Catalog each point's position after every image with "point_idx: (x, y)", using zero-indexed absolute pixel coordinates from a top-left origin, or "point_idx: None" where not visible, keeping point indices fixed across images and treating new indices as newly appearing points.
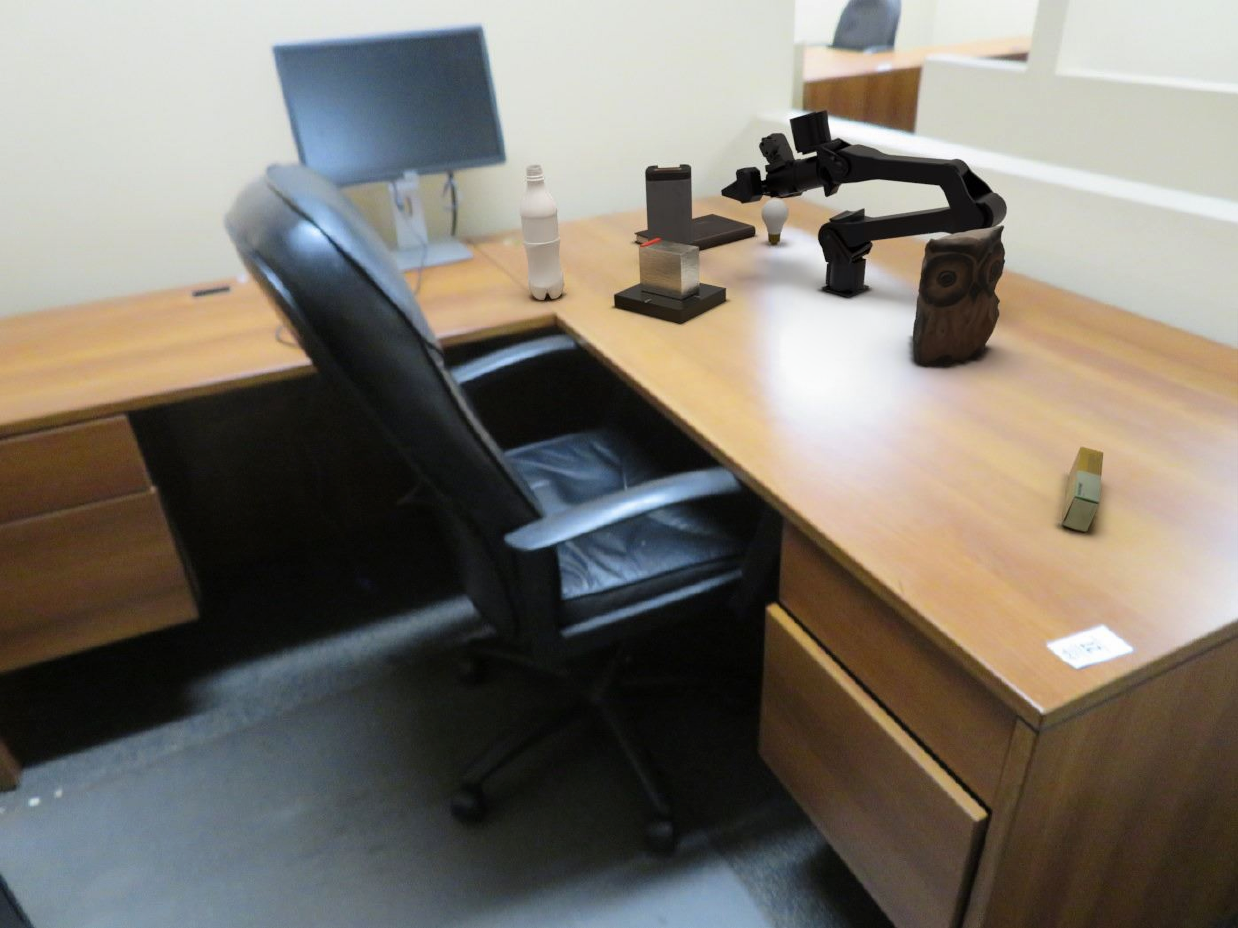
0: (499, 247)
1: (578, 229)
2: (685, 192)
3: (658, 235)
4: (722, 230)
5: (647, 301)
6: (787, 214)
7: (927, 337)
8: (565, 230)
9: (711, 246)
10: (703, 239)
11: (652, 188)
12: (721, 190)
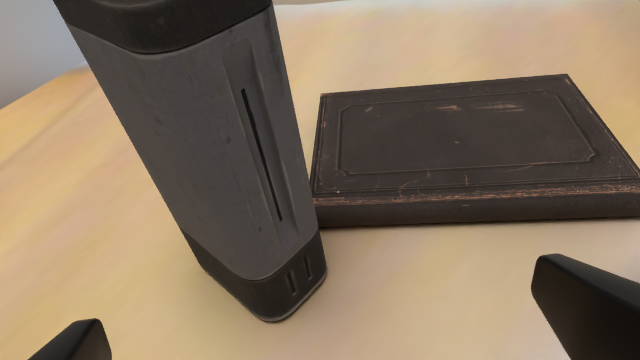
0: None
1: (306, 36)
2: (170, 116)
3: (172, 208)
4: (522, 173)
5: None
6: None
7: None
8: (288, 33)
9: (451, 221)
10: (421, 202)
11: (83, 52)
12: (71, 326)
